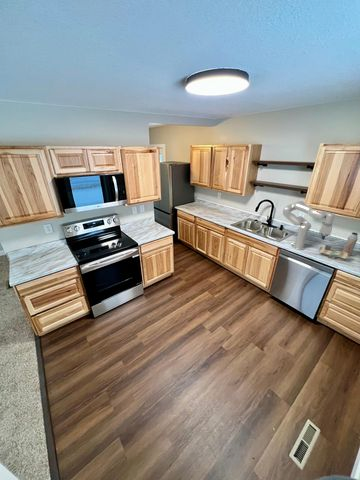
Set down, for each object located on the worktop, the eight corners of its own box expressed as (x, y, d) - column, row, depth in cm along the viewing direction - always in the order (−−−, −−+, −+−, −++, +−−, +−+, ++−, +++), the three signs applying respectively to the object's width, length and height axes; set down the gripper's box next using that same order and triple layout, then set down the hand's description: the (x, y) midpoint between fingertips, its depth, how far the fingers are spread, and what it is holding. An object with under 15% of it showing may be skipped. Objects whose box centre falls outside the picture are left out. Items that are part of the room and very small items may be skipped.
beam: (317, 255, 226) (319, 248, 222) (318, 252, 230) (320, 246, 226) (345, 262, 211) (348, 255, 208) (345, 259, 216) (348, 253, 212)
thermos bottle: (348, 257, 219) (357, 235, 207) (340, 254, 226) (349, 232, 213) (351, 255, 223) (361, 233, 210) (343, 252, 229) (352, 231, 216)
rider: (323, 251, 221) (325, 246, 218) (324, 249, 225) (325, 244, 222) (329, 252, 218) (330, 247, 215) (329, 250, 222) (331, 245, 219)
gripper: (319, 223, 213) (314, 238, 221) (335, 226, 204) (330, 241, 212) (319, 221, 218) (315, 236, 226) (336, 224, 210) (331, 239, 218)
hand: (322, 239), depth 219 cm, fingers closed
